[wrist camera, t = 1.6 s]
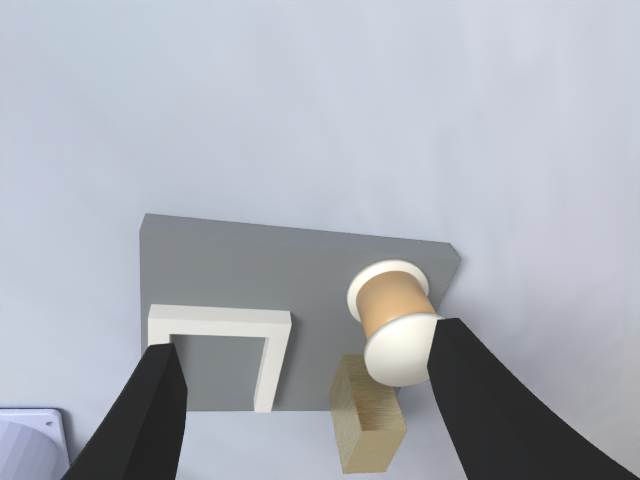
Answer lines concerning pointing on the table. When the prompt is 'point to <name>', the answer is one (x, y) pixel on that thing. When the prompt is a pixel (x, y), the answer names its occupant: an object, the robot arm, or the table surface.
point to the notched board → (263, 306)
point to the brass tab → (364, 418)
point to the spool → (394, 320)
